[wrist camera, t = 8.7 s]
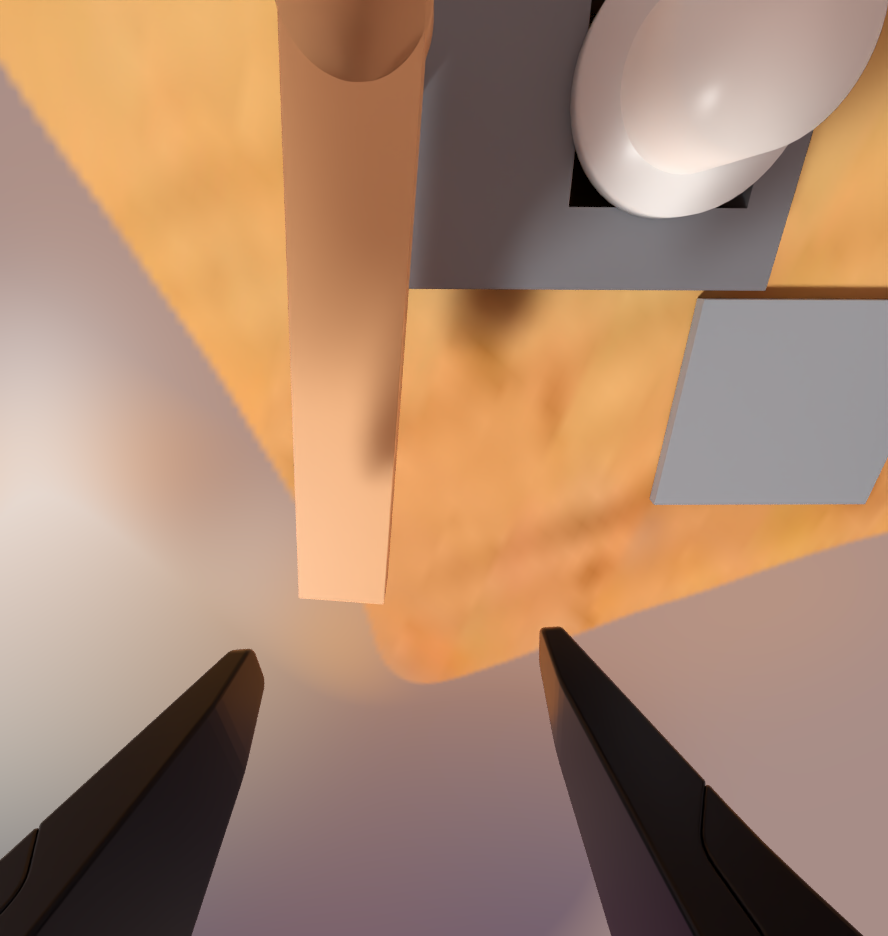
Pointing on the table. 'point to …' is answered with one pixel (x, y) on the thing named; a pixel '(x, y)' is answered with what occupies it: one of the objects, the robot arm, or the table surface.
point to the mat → (778, 404)
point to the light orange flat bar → (348, 272)
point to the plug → (708, 93)
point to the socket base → (555, 173)
